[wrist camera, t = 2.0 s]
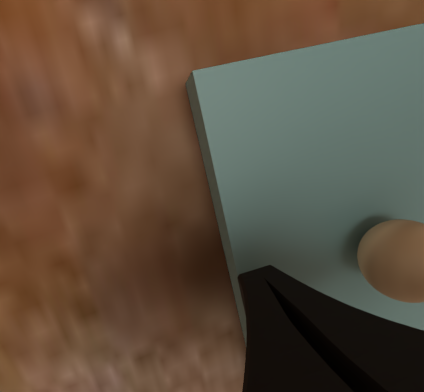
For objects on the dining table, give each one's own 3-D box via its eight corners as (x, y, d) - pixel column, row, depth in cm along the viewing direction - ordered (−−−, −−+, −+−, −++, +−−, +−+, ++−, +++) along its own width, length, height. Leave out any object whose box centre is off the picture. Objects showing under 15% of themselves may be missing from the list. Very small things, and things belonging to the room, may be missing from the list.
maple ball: (402, 201, 11) (487, 226, 8) (403, 263, 12) (480, 305, 9) (337, 220, 11) (402, 254, 8) (343, 282, 11) (403, 333, 9)
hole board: (544, 7, 13) (631, -20, 10) (509, 283, 17) (564, 308, 15) (185, 83, 11) (192, 70, 8) (252, 376, 15) (269, 422, 13)
